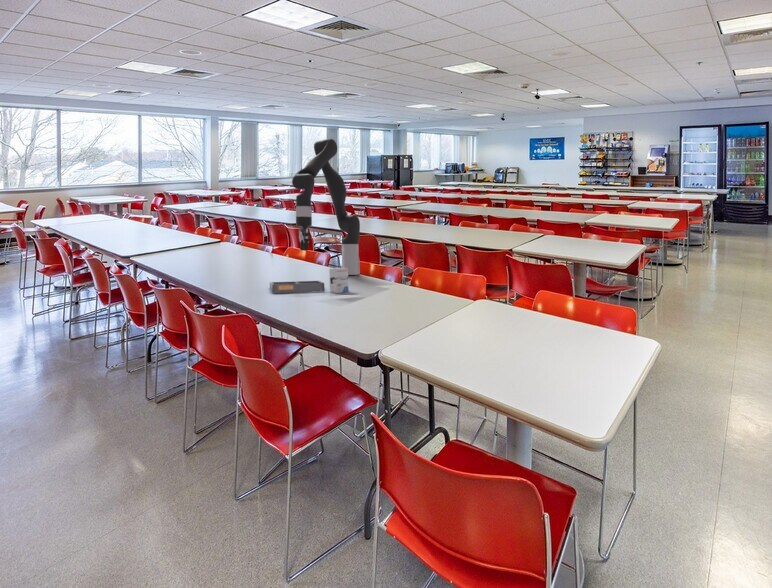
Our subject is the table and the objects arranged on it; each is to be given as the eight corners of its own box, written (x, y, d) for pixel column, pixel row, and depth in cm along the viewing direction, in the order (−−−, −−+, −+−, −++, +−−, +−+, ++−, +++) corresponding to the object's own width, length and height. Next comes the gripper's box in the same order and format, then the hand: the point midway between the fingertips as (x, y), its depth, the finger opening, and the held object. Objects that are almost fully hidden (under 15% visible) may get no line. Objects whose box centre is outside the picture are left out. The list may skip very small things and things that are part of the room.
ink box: (341, 291, 240) (341, 267, 239) (348, 291, 237) (348, 267, 235) (329, 292, 233) (328, 268, 232) (336, 293, 230) (335, 268, 229)
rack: (318, 289, 249) (318, 280, 249) (324, 291, 236) (324, 282, 236) (269, 290, 241) (269, 282, 240) (272, 293, 228) (272, 284, 228)
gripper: (314, 215, 226) (315, 250, 228) (308, 217, 239) (308, 250, 241) (298, 215, 223) (299, 250, 225) (293, 216, 236) (293, 250, 238)
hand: (304, 250), depth 233 cm, fingers open, 7 cm apart
